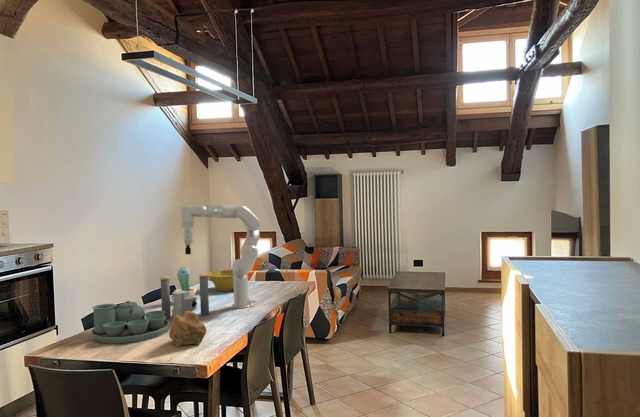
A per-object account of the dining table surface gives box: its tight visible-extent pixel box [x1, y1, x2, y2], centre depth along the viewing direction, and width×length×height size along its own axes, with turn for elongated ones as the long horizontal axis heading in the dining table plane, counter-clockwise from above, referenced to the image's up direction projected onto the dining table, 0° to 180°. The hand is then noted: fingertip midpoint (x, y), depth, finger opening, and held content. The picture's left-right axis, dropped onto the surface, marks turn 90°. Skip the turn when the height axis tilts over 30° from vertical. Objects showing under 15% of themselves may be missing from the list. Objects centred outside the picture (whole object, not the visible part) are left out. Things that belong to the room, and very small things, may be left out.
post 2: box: [198, 273, 210, 316], centre depth 294 cm, size 5×5×25 cm
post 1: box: [160, 276, 172, 320], centre depth 288 cm, size 5×5×25 cm
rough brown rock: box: [169, 311, 207, 347], centre depth 237 cm, size 23×17×15 cm
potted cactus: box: [173, 265, 197, 297], centre depth 333 cm, size 15×15×25 cm
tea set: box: [91, 300, 171, 344], centre depth 258 cm, size 40×40×16 cm
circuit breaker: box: [171, 291, 198, 318], centre depth 291 cm, size 8×14×15 cm, turn 78°
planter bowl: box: [206, 269, 234, 292], centre depth 374 cm, size 32×32×13 cm
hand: (188, 254), depth 298 cm, fingers closed
